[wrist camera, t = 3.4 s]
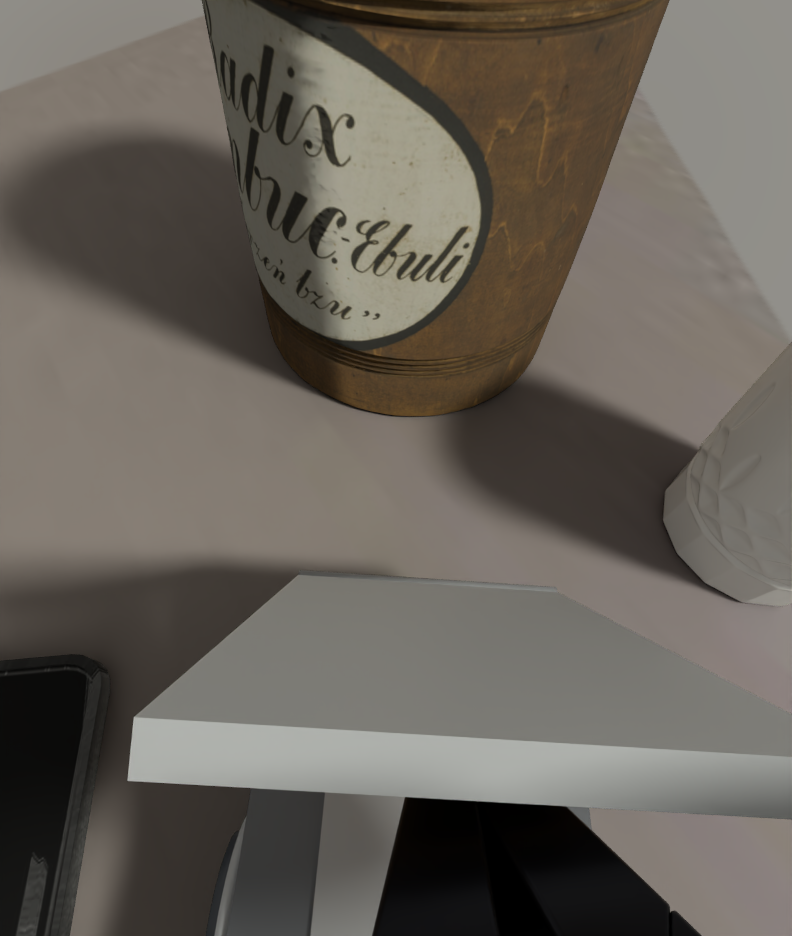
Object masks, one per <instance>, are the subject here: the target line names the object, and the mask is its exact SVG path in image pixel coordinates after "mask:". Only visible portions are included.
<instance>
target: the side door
mask: <svg viewBox="0 0 792 936" xmlns="http://www.w3.org/2000/svg"><path fill="white" fill-rule="evenodd" d="M127 781H138V782H156V783H173V784H190V785H207V786H225V787H242V788H259V789H276V790H294V791H311V792H328V793H345V794H363V795H380V796H397V797H414V798H432V799H449V800H466V801H483V802H501V803H518V804H535V805H552V806H570V807H587V808H604V809H621V810H639V811H656V812H673V813H690V814H708V815H725V816H742V817H759V818H777V819H792V714H791V713H789V712H787V711H785V710H783V709H781V708H779V707H777V706H775V705H774V704H772V703H770V702H768V701H766V700H764V699H762V698H760V697H758V696H756V695H754V694H752V693H751V692H749V691H747V690H745V689H743V688H741V687H739V686H737V685H735V684H733V683H731V682H729V681H728V680H726V679H724V678H722V677H720V676H718V675H716V674H714V673H712V672H710V671H708V670H706V669H705V668H703V667H701V666H699V665H697V664H695V663H693V662H691V661H689V660H687V659H685V658H683V657H682V656H680V655H678V654H676V653H674V652H672V651H670V650H668V649H666V648H664V647H662V646H660V645H659V644H657V643H655V642H653V641H651V640H649V639H647V638H645V637H643V636H641V635H639V634H637V633H636V632H634V631H632V630H630V629H628V628H626V627H624V626H622V625H620V624H618V623H616V622H614V621H613V620H611V619H609V618H607V617H605V616H603V615H601V614H599V613H597V612H595V611H593V610H591V609H590V608H588V607H586V606H584V605H582V604H580V603H578V602H576V601H574V600H572V599H570V598H568V597H566V596H565V595H563V594H561V593H559V592H558V591H557V588H556V587H548V586H533V585H518V584H503V583H488V582H473V581H458V580H443V579H428V578H413V577H398V576H383V575H368V574H353V573H338V572H323V571H308V570H300V571H299V574H298V575H297V576H296V577H295V578H294V579H293V580H292V581H291V582H289V583H288V584H287V585H286V586H285V587H284V588H282V589H281V590H280V591H279V592H278V593H277V594H276V595H274V596H273V597H272V598H271V599H270V600H269V601H267V602H266V603H265V604H264V605H263V606H262V607H261V608H259V609H258V610H257V611H256V612H255V613H254V614H252V615H251V616H250V617H249V618H248V619H247V620H245V621H244V622H243V623H242V624H241V625H240V626H239V627H237V628H236V629H235V630H234V631H233V632H232V633H230V634H229V635H228V636H227V637H226V638H225V639H224V640H222V641H221V642H220V643H219V644H218V645H217V646H215V647H214V648H213V649H212V650H211V651H210V652H209V653H207V654H206V655H205V656H204V657H203V658H202V659H200V660H199V661H198V662H197V663H196V664H195V665H194V666H192V667H191V668H190V669H189V670H188V671H187V672H185V673H184V674H183V675H182V676H181V677H180V678H179V679H177V680H176V681H175V682H174V683H173V684H172V685H170V686H169V687H168V688H167V689H166V690H165V691H164V692H162V693H161V694H160V695H159V696H158V697H157V698H155V699H154V700H153V701H152V702H151V703H150V704H149V705H147V706H146V707H145V708H144V709H143V710H142V711H140V712H139V713H138V714H137V715H136V716H135V717H134V720H133V730H132V740H131V750H130V760H129V770H128V780H127Z"/></svg>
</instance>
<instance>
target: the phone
mask: <svg viewBox="0 0 792 936" xmlns="http://www.w3.org/2000/svg"><path fill="white" fill-rule="evenodd" d="M109 694H110V678H109V675H108V672H107V670H106V669H105V667H104V666H103V665H102V664H101V663H99V662H97V661H95V660H93V659H90V658H88V657H86V656H83V655H73V654H71V655H60V656H49V657H38V658H27V659H16V660H4V661H0V936H70V930H71V924H72V918H73V912H74V906H75V900H76V894H77V888H78V882H79V876H80V870H81V864H82V858H83V852H84V845H85V839H86V833H87V827H88V821H89V815H90V809H91V803H92V797H93V791H94V785H95V779H96V773H97V767H98V760H99V754H100V748H101V742H102V736H103V730H104V724H105V718H106V712H107V706H108V700H109Z"/></svg>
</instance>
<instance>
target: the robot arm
mask: <svg viewBox="0 0 792 936" xmlns="http://www.w3.org/2000/svg"><path fill="white" fill-rule="evenodd" d="M372 936H702V935H700V934H699V933H698V932H697V931H696V930H695V929H694V928H693V927H692V926H691V925H690V924H689V923H688V922H687V921H686V920H685V919H684V918H683V917H682V916H681V915H680V914H679V913H678V912H676V911H671V913H670V906H669V904H668V903H667V902H666V901H665V900H664V899H663V898H662V897H661V896H659V895H658V894H657V893H656V892H655V891H654V890H653V889H652V888H651V887H650V886H649V885H648V884H647V883H646V882H645V881H644V880H643V879H642V878H641V877H640V876H639V875H638V874H637V873H636V872H635V871H633V870H632V869H631V868H630V867H629V866H628V865H627V864H626V863H625V862H624V861H623V860H622V859H621V858H620V857H619V856H618V855H617V854H616V853H615V852H614V851H613V850H612V849H611V848H610V847H608V846H607V845H606V844H605V843H604V842H603V841H602V840H601V839H600V838H599V837H598V836H597V835H596V834H595V833H594V832H593V831H592V830H591V829H590V828H589V827H588V826H587V825H586V824H585V823H584V822H582V821H581V820H580V819H579V818H578V817H577V816H576V815H575V814H574V813H573V812H572V811H571V810H570V809H569V808H568V807H567V806H552V805H535V804H518V803H501V802H483V801H466V800H449V799H432V798H414V797H405V799H404V803H403V807H402V811H401V815H400V820H399V824H398V828H397V832H396V836H395V841H394V845H393V849H392V853H391V857H390V862H389V866H388V870H387V874H386V878H385V883H384V887H383V891H382V895H381V899H380V904H379V908H378V912H377V916H376V920H375V925H374V929H373V933H372Z"/></svg>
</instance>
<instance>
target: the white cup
mask: <svg viewBox="0 0 792 936" xmlns="http://www.w3.org/2000/svg"><path fill="white" fill-rule="evenodd" d="M663 522H664V524H665V527H666V529H667V531H668V534H669V536H670V539H671V541H672V543H673V546H674V548H675V550H676V553H677V554H678V555H679V556H680V557H681V558H682V559H683V560H684V562H685V563H686V564H687V565H688V566H689V567H690V568H691V569H692V570H693V571H694V572H695V573H696V574H697V575H698V576H699V577H700V578H701V579H702V580H703V581H704V582H705V583H706V584H708V585H710V586H712V587H714V588H715V589H717V590H719V591H721V592H723V593H725V594H727V595H729V596H731V597H733V598H734V599H736V600H738V601H740V602H743V603H750V604H759V605H768V606H777V607H782V606H786V605H789V604H792V342H791V343H790V344H789V345H788V346H787V348H786V349H785V350H784V351H783V352H782V353H781V354H780V355H779V356H778V358H777V359H776V360H775V361H774V362H773V363H772V364H771V365H770V366H769V367H768V369H767V370H766V371H765V372H764V373H763V374H762V375H761V376H760V377H759V379H758V380H757V381H756V382H755V383H754V384H753V385H752V386H751V388H750V389H749V390H748V391H747V392H746V393H745V394H744V395H743V396H742V397H741V399H740V400H739V401H738V402H737V403H736V404H735V405H734V406H733V408H732V409H731V410H730V411H729V412H728V413H727V414H726V415H725V417H724V418H723V419H722V420H721V421H720V422H719V423H718V425H717V426H716V428H715V429H714V431H713V432H712V433H711V434H710V435H709V436H708V437H707V438H706V439H705V440H704V442H703V443H702V444H701V445H700V448H699V450H698V453H697V454H696V455H695V456H694V458H693V459H692V460H691V461H690V462H689V463H688V464H687V465H686V466H685V467H684V468H683V469H682V471H681V472H680V473H679V474H678V476H677V477H676V478H675V479H674V481H673V482H672V483H671V484H670V486H669V487H668V488H667V489H666V491H665V499H664V513H663Z"/></svg>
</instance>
